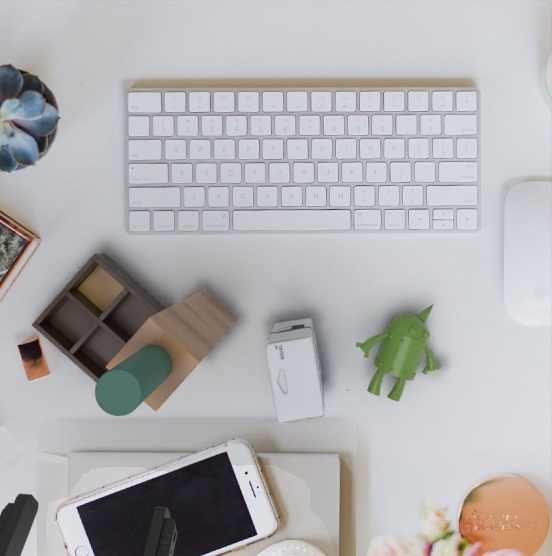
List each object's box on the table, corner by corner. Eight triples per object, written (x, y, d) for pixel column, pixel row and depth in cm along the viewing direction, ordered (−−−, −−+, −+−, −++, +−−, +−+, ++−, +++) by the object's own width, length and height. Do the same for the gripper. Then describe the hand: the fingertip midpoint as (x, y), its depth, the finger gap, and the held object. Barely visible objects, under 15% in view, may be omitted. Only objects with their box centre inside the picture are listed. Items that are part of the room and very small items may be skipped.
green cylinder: (154, 392, 46) (120, 426, 38) (124, 366, 46) (84, 394, 38) (180, 363, 46) (151, 391, 38) (150, 337, 46) (116, 359, 38)
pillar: (207, 353, 68) (155, 412, 46) (173, 322, 68) (104, 367, 46) (237, 319, 68) (200, 362, 46) (203, 288, 68) (149, 316, 46)
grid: (112, 381, 69) (102, 388, 65) (43, 320, 68) (30, 325, 65) (172, 313, 68) (165, 318, 65) (104, 252, 68) (93, 253, 65)
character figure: (351, 395, 61) (389, 290, 61) (332, 377, 66) (367, 280, 65) (436, 414, 66) (472, 317, 65) (412, 396, 70) (445, 305, 70)
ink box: (325, 386, 68) (326, 418, 56) (284, 392, 68) (277, 426, 57) (313, 316, 68) (312, 334, 56) (272, 322, 68) (263, 342, 56)
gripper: (120, 920, 22) (203, 492, 33) (-243, 884, 22) (-39, 470, 33) (149, 892, 28) (212, 533, 39) (-142, 863, 28) (4, 513, 39)
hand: (96, 504), depth 36 cm, fingers open, 8 cm apart
